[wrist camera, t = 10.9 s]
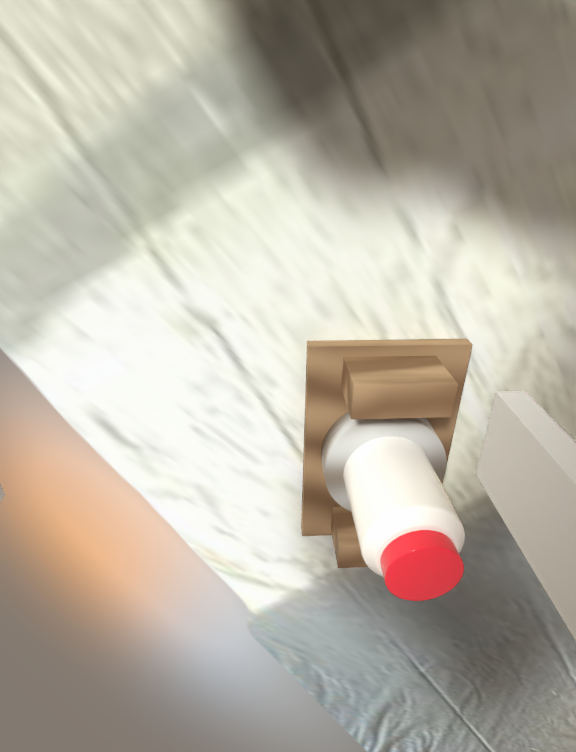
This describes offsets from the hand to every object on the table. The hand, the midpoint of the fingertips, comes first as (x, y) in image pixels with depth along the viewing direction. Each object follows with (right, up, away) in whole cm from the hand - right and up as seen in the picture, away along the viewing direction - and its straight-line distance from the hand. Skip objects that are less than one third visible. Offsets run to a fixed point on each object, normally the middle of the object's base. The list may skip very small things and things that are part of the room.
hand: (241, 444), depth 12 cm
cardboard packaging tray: (+10, -5, +33) cm, 35 cm away
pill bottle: (+10, -7, +30) cm, 32 cm away
